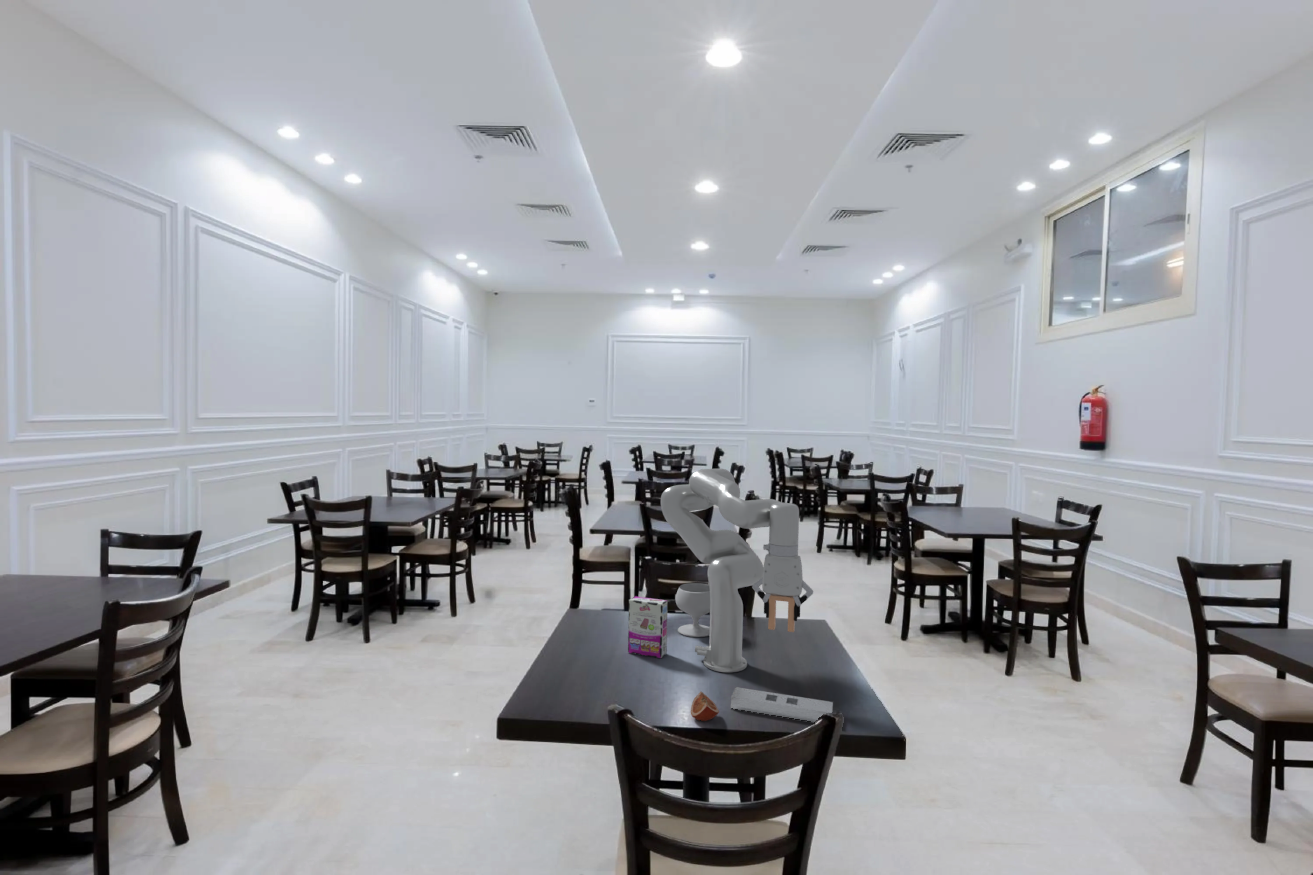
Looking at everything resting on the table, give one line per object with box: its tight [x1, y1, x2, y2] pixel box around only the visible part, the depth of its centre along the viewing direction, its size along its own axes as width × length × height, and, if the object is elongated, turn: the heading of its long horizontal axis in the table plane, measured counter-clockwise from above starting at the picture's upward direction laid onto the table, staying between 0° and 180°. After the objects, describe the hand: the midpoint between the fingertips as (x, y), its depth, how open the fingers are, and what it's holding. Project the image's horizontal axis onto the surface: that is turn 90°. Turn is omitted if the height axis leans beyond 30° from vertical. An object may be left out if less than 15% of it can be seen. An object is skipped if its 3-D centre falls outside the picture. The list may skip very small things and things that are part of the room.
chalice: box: [675, 582, 710, 638], centre depth 209 cm, size 14×14×15 cm
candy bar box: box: [627, 595, 669, 659], centre depth 189 cm, size 11×5×16 cm, turn 68°
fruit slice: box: [690, 691, 720, 722], centre depth 149 cm, size 8×7×5 cm
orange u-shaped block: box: [767, 594, 796, 633], centre depth 164 cm, size 7×2×9 cm, turn 73°
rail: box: [730, 686, 834, 724], centre depth 153 cm, size 24×6×3 cm, turn 72°
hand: (781, 617), depth 164 cm, fingers closed on orange u-shaped block, 6 cm apart
